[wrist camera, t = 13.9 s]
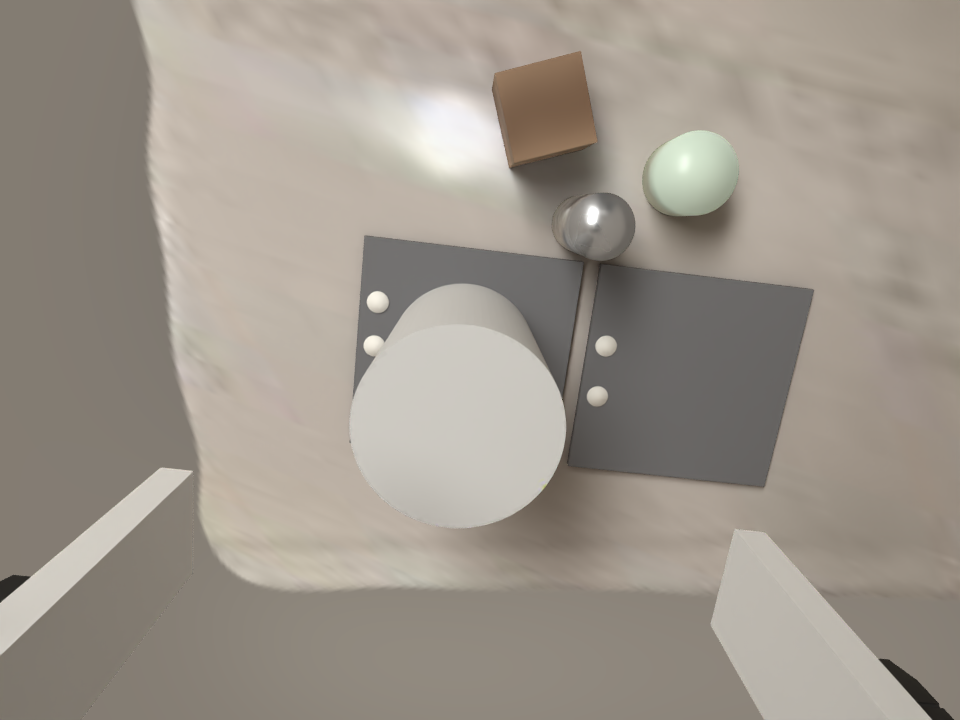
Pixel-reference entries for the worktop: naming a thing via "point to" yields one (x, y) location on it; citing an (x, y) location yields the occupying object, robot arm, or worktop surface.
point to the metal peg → (594, 225)
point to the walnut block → (544, 109)
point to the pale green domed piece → (691, 174)
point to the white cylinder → (458, 411)
